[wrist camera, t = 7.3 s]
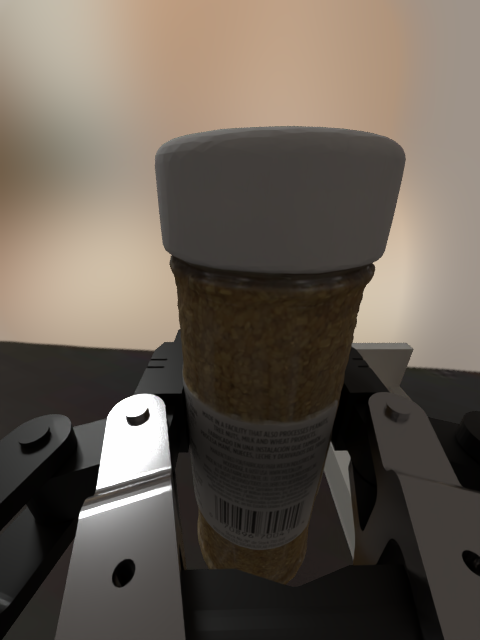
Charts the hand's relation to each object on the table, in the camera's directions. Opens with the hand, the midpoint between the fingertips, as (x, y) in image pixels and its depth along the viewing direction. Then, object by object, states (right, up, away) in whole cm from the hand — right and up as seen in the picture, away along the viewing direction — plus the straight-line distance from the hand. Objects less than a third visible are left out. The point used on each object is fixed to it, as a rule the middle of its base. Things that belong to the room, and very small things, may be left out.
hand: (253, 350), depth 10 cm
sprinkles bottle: (0, -8, +1) cm, 8 cm away
